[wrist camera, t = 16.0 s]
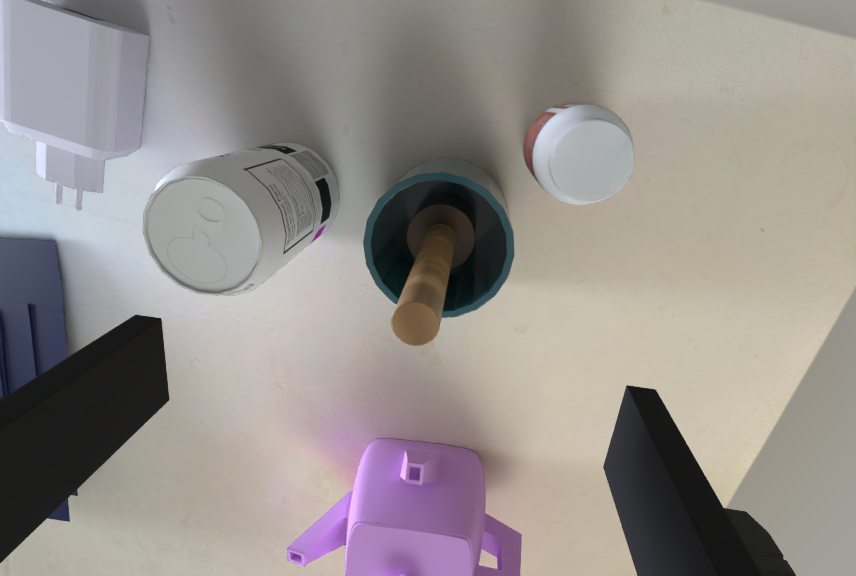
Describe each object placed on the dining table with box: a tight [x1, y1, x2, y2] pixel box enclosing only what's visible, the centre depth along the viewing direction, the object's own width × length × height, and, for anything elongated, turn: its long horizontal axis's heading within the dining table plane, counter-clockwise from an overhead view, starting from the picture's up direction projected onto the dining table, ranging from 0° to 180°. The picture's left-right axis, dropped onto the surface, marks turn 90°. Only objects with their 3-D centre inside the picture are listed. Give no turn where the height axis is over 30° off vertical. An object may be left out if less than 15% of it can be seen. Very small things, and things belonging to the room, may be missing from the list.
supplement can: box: [143, 143, 340, 296], centre depth 36 cm, size 8×8×15 cm
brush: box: [391, 192, 476, 346], centre depth 32 cm, size 5×5×20 cm
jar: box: [363, 157, 514, 318], centre depth 38 cm, size 10×10×9 cm
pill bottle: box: [524, 104, 635, 205], centre depth 34 cm, size 6×6×11 cm
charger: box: [0, 0, 150, 210], centre depth 40 cm, size 5×9×15 cm
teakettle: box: [287, 439, 522, 576], centre depth 47 cm, size 17×17×12 cm
